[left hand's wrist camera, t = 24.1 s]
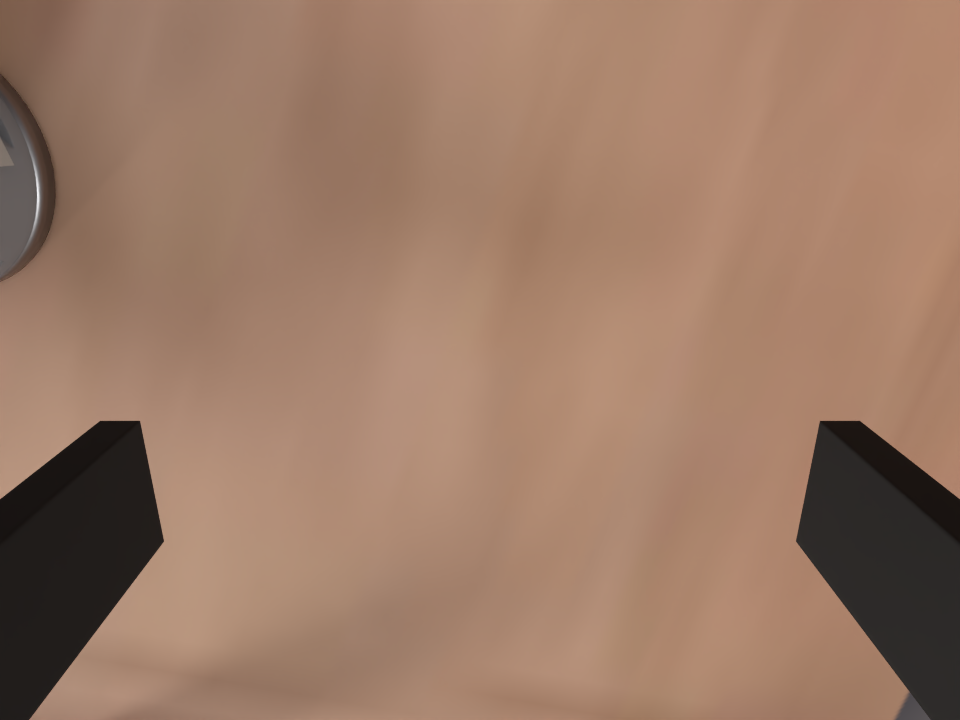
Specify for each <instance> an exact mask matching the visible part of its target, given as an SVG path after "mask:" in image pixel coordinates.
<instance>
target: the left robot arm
mask: <svg viewBox="0 0 960 720" xmlns="http://www.w3.org/2000/svg"><path fill="white" fill-rule="evenodd" d="M54 208H55V179H54V172H53V167H52V162H51V158H50V154H49V151H48V148H47V145H46V142H45V140H44V137H43V135H42V133H41V130H40V128H39V126H38V124H37V122H36V120H35V119H34V117H33V115H32V113H31V112H30V110H29V109H28V107H27V105H26V104H25V103H24V101H23V100H22V98H21V97H20V96H19V94H18V93H17V92H16V91H15V89H14V88H13V87H12V86H11V85H10V84H9V82H8V81H7V80H6V79H5V78H4V77H3V76H2V75H1V74H0V281H3V280H5V279H7V278H9V277H11V276H12V275H14V274H15V273H17V272H18V271H20V270H21V269H22V268H23V267H25V266H26V265H27V264H28V263H29V262H30V261H31V260H32V259H33V258H34V256H35V255H36V254H37V252H38V251H39V250H40V248H41V246H42V244H43V243H44V241H45V239H46V237H47V234H48V232H49V229H50V226H51V223H52V219H53V214H54ZM163 542H164V539H163V534H162V529H161V524H160V519H159V514H158V509H157V504H156V499H155V494H154V489H153V484H152V479H151V474H150V469H149V464H148V459H147V454H146V449H145V444H144V439H143V434H142V429H141V424H140V421H100V422H98V423H97V424H96V425H94V426H93V427H92V428H91V429H89V430H88V431H87V432H86V433H84V434H83V435H82V436H80V437H79V438H78V439H77V440H75V441H74V442H73V443H71V444H70V445H69V446H68V447H66V448H65V449H64V450H63V451H61V452H60V453H59V454H57V455H56V456H55V457H54V458H52V459H51V460H50V461H49V462H47V463H46V464H45V465H43V466H42V467H41V468H40V469H38V470H37V471H36V472H34V473H33V474H32V475H31V476H29V477H28V478H27V479H26V480H24V481H23V482H22V483H20V484H19V485H18V486H17V487H15V488H14V489H13V490H12V491H10V492H9V493H8V494H6V495H5V496H4V497H3V498H1V499H0V720H29V719H30V718H31V716H32V715H33V714H34V713H35V711H36V710H37V709H38V707H39V706H40V705H41V703H42V702H43V701H44V699H45V698H46V697H47V695H48V694H49V693H50V691H51V690H52V689H53V687H54V686H55V685H56V683H57V682H58V681H59V679H60V678H61V677H62V675H63V674H64V673H65V672H66V670H67V669H68V668H69V666H70V665H71V664H72V662H73V661H74V660H75V658H76V657H77V656H78V654H79V653H80V652H81V650H82V649H83V648H84V646H85V645H86V644H87V642H88V641H89V640H90V638H91V637H92V636H93V635H94V633H95V632H96V631H97V629H98V628H99V627H100V625H101V624H102V623H103V621H104V620H105V619H106V617H107V616H108V615H109V613H110V612H111V611H112V609H113V608H114V607H115V605H116V604H117V603H118V601H119V600H120V599H121V597H122V596H123V595H124V594H125V592H126V591H127V590H128V588H129V587H130V586H131V584H132V583H133V582H134V580H135V579H136V578H137V576H138V575H139V574H140V572H141V571H142V570H143V568H144V567H145V566H146V564H147V563H148V562H149V560H150V559H151V558H152V556H153V555H154V554H155V553H156V551H157V550H158V549H159V547H160V546H161V545H162V543H163ZM796 542H797V543H798V545H799V546H800V547H801V549H802V550H803V551H804V553H805V554H806V555H807V556H808V558H809V559H810V560H811V562H812V563H813V564H814V566H815V567H816V568H817V570H818V571H819V572H820V574H821V575H822V576H823V578H824V579H825V580H826V582H827V583H828V584H829V586H830V587H831V588H832V590H833V591H834V592H835V594H836V595H837V596H838V597H839V599H840V600H841V601H842V603H843V604H844V605H845V607H846V608H847V609H848V611H849V612H850V613H851V615H852V616H853V617H854V619H855V620H856V621H857V623H858V624H859V625H860V627H861V628H862V629H863V631H864V632H865V633H866V635H867V636H868V637H869V638H870V640H871V641H872V642H873V644H874V645H875V646H876V648H877V649H878V650H879V652H880V653H881V654H882V656H883V657H884V658H885V660H886V661H887V662H888V664H889V665H890V666H891V668H892V669H893V670H894V672H895V673H896V674H897V675H898V677H899V678H900V679H901V681H902V682H903V683H904V685H905V686H906V687H907V689H908V690H909V691H910V693H911V694H912V695H913V697H914V698H915V699H916V701H917V702H918V703H919V705H920V706H921V707H922V709H923V710H924V711H925V713H926V714H927V715H928V716H929V718H930V719H931V720H960V499H959V498H957V497H956V496H955V495H954V494H952V493H951V492H950V491H948V490H947V489H946V488H945V487H943V486H942V485H941V484H940V483H938V482H937V481H936V480H934V479H933V478H932V477H931V476H929V475H928V474H927V473H926V472H924V471H923V470H922V469H920V468H919V467H918V466H917V465H915V464H914V463H913V462H911V461H910V460H909V459H908V458H906V457H905V456H904V455H903V454H901V453H900V452H899V451H897V450H896V449H895V448H894V447H892V446H891V445H890V444H889V443H887V442H886V441H885V440H883V439H882V438H881V437H880V436H878V435H877V434H876V433H874V432H873V431H872V430H871V429H869V428H868V427H867V426H866V425H864V424H863V423H862V422H860V421H820V424H819V429H818V434H817V439H816V444H815V449H814V454H813V459H812V464H811V469H810V474H809V479H808V484H807V489H806V494H805V499H804V504H803V509H802V514H801V519H800V524H799V529H798V534H797V539H796Z"/></svg>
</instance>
